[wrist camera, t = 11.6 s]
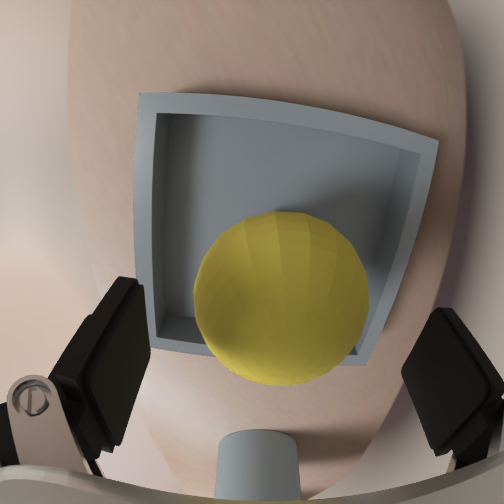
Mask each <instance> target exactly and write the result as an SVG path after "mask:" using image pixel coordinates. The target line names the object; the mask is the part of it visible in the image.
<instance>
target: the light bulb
mask: <svg viewBox="0 0 504 504" xmlns="http://www.w3.org/2000/svg"><path fill="white" fill-rule="evenodd" d="M193 291H194V307H195V318H196V323H197V325H198V327H199V330H200V332H201V334H202V336H203V338H204V340H205V342H206V344H207V346H208V348H209V349H210V351H211V352H212V353H213V354H214V355H215V356H216V357H217V358H218V359H219V360H220V361H221V362H222V363H223V364H224V365H225V366H226V367H227V368H228V369H230V370H231V371H233V372H234V373H236V374H238V375H240V376H242V377H244V378H246V379H248V380H250V381H254V382H258V383H262V384H267V385H295V384H299V383H304V382H308V381H311V380H313V379H315V378H317V377H319V376H322V375H324V374H326V373H328V372H329V371H330V370H332V369H333V368H334V367H336V366H337V365H338V364H339V363H341V362H342V361H343V360H344V359H345V358H346V357H347V355H348V354H349V353H350V351H351V350H352V349H353V347H354V346H355V345H356V343H357V342H358V340H359V338H360V336H361V334H362V331H363V328H364V325H365V322H366V319H367V315H368V311H369V290H368V279H367V273H366V271H365V269H364V267H363V265H362V263H361V261H360V259H359V257H358V255H357V253H356V251H355V249H354V247H353V245H352V244H351V243H350V242H349V241H348V240H347V239H346V238H345V237H344V236H343V235H342V234H341V233H339V232H338V231H337V230H336V229H335V228H334V227H333V226H331V225H330V224H329V223H327V222H325V221H322V220H320V219H317V218H315V217H312V216H310V215H307V214H305V213H297V212H280V211H273V212H269V213H265V214H261V215H257V216H253V217H249V218H245V219H244V220H242V221H241V222H239V223H237V224H236V225H234V226H233V227H231V228H230V229H228V230H226V231H225V232H223V233H222V234H221V235H220V236H219V237H218V239H217V240H216V241H215V242H214V244H213V245H212V246H211V247H210V249H209V250H208V251H207V252H206V254H205V256H204V257H203V259H202V262H201V265H200V268H199V271H198V274H197V277H196V280H195V284H194V290H193Z"/></svg>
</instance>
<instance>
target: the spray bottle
mask: <svg viewBox="0 0 504 504" xmlns="http://www.w3.org/2000/svg"><path fill="white" fill-rule="evenodd" d="M214 498H216V499H227V500H242V501H301V500H302V499H301V487H300V475H299V464H298V453H297V444H296V442H295V440H294V439H293V438H292V437H290V436H289V435H287V434H284V433H281V432H278V431H271V430H246V431H239V432H236V433H233V434H230V435H228V436H226V437H225V438H223V439H222V440H221V442H220V444H219V450H218V461H217V472H216V483H215V494H214Z"/></svg>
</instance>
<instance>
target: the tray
mask: <svg viewBox="0 0 504 504" xmlns="http://www.w3.org/2000/svg"><path fill="white" fill-rule="evenodd" d="M438 145H439V141H438V140H435V139H432V138H430V137H427V136H424V135H421V134H418V133H415V132H411V131H408V130H405V129H402V128H399V127H395V126H392V125H388V124H385V123H381V122H378V121H374V120H370V119H366V118H362V117H358V116H354V115H350V114H345V113H341V112H336V111H332V110H327V109H322V108H317V107H311V106H306V105H300V104H294V103H288V102H281V101H274V100H267V99H259V98H250V97H240V96H230V95H217V94H200V93H168V92H150V93H139V98H138V108H137V120H136V134H135V152H134V186H133V215H134V249H135V268H136V279H137V280H138V282H139V284H142V285H143V286H144V292H145V304H146V314H147V324H148V333H149V341H150V347H151V348H157V349H163V350H169V351H175V352H182V353H188V354H195V355H203V356H210V357H216V356H215V355H214V354H213V353H212V352H211V351H210V349H209V348H208V346H207V344H206V342H205V340H204V338H203V336H202V334H201V332H200V330H199V327H198V325H197V323H196V318H195V307H194V291H193V290H194V284H195V280H196V277H197V274H198V271H199V268H200V265H201V262H202V259H203V257H204V256H205V254H206V252H207V251H208V250H209V249H210V247H211V246H212V245H213V244H214V242H215V241H216V240H217V239H218V237H219V236H220V235H221V234H222V233H223V232H225V231H226V230H228V229H230V228H231V227H233V226H234V225H236V224H237V223H239V222H241V221H242V220H244V219H245V218H249V217H253V216H257V215H261V214H265V213H269V212H273V211H280V212H297V213H305V214H307V215H310V216H312V217H315V218H317V219H320V220H322V221H325V222H327V223H329V224H330V225H331V226H333V227H334V228H335V229H336V230H337V231H338V232H339V233H341V234H342V235H343V236H344V237H345V238H346V239H347V240H348V241H349V242H350V243H351V244H352V245H353V247H354V249H355V251H356V253H357V255H358V257H359V259H360V261H361V263H362V265H363V267H364V269H365V271H366V273H367V279H368V290H369V311H368V315H367V319H366V322H365V325H364V328H363V331H362V334H361V336H360V338H359V340H358V342H357V343H356V345H355V346H354V347H353V349H352V350H351V351H350V353H349V354H348V355H347V357H346V358H345V359H344V360H343V361H342V362H341V363H339V364H338V365H337V366H366V364H367V362H368V360H369V358H370V356H371V354H372V351H373V349H374V347H375V345H376V343H377V341H378V338H379V336H380V334H381V332H382V329H383V327H384V325H385V322H386V320H387V317H388V315H389V313H390V310H391V308H392V305H393V303H394V300H395V297H396V295H397V292H398V290H399V287H400V284H401V281H402V279H403V276H404V273H405V270H406V267H407V264H408V261H409V258H410V255H411V252H412V249H413V246H414V243H415V240H416V236H417V233H418V230H419V226H420V223H421V219H422V215H423V212H424V208H425V204H426V200H427V196H428V192H429V188H430V184H431V179H432V175H433V170H434V165H435V161H436V155H437V150H438Z"/></svg>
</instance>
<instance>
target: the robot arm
mask: <svg viewBox="0 0 504 504" xmlns="http://www.w3.org/2000/svg"><path fill="white" fill-rule="evenodd" d="M150 354H151V349H150V341H149V333H148V324H147V314H146V304H145V292H144V286H143V285H142V284H139V282H138V280H137V279H135V278H128V277H122V276H119V277H118V278H117V279H116V280H115V282H114V283H113V285H112V286H111V287H110V289H109V290H108V292H107V293H106V294H105V296H104V297H103V299H102V300H101V302H100V303H99V305H98V306H97V308H96V309H95V311H94V312H93V314H91V315H88V316H87V317H86V318H85V319H84V321H83V322H82V324H81V325H80V327H79V329H78V330H77V332H76V333H75V335H74V336H73V338H72V339H71V341H70V342H69V344H68V345H67V347H66V349H65V350H64V352H63V353H62V355H61V357H60V358H59V360H58V361H57V363H56V365H55V366H54V368H53V370H52V372H51V373H50V375H49V377H48V378H45V377H43V376H39V375H28V376H25V377H23V378H20V379H19V380H17V381H16V382H15V383H14V384H13V385H12V386H11V388H10V389H9V392H8V395H7V402H5V403H2V404H0V504H504V399H502V397H501V396H502V395H503V394H504V381H503V380H502V378H501V376H500V375H499V373H498V372H497V370H496V369H495V367H494V366H493V364H492V363H491V361H490V360H489V358H488V357H487V355H486V354H485V352H484V351H483V349H482V348H481V346H480V345H479V344H478V342H477V341H476V339H475V338H474V337H473V336H472V334H471V332H470V331H469V330H468V328H467V327H466V326H465V324H464V323H463V322H462V320H461V319H460V318H459V316H458V315H457V314H456V313H455V311H454V310H453V309H452V308H442V307H441V308H440V307H438V308H436V309H435V310H434V312H432V313H431V314H430V316H429V318H428V320H427V322H426V324H425V326H424V328H423V330H422V332H421V334H420V336H419V338H418V340H417V341H416V343H415V345H414V347H413V349H412V351H411V352H410V354H409V356H408V358H407V359H406V361H405V363H404V365H403V367H402V370H401V374H402V378H403V380H404V382H405V384H406V387H407V389H408V392H409V394H410V397H411V399H412V401H413V404H414V406H415V409H416V411H417V414H418V416H419V419H420V422H421V424H422V427H423V429H424V432H425V435H426V437H427V440H428V443H429V445H430V447H431V449H433V450H434V453H435V456H440V455H444V454H447V453H448V452H449V451H450V450H452V451H453V454H452V457H451V460H450V463H449V466H448V469H447V472H446V474H443V475H440V476H437V477H434V478H430V479H427V480H423V481H420V482H416V483H412V484H409V485H405V486H400V487H396V488H392V489H387V490H382V491H377V492H372V493H366V494H359V495H353V496H346V497H338V498H328V499H317V500H301V501H242V500H227V499H216V498H207V497H198V496H191V495H183V494H177V493H170V492H165V491H159V490H154V489H150V488H145V487H140V486H136V485H132V484H128V483H124V482H119V481H115V480H111V479H107V478H106V477H105V475H104V473H103V471H102V469H101V467H100V465H99V464H98V461H97V458H99V456H100V453H101V450H103V451H106V452H109V453H113V450H114V447H115V445H116V446H119V445H121V442H122V440H123V437H124V433H125V430H126V427H127V424H128V421H129V418H130V415H131V412H132V409H133V405H134V403H135V400H136V397H137V394H138V391H139V388H140V385H141V382H142V379H143V377H144V374H145V371H146V368H147V365H148V363H149V360H150Z"/></svg>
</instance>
